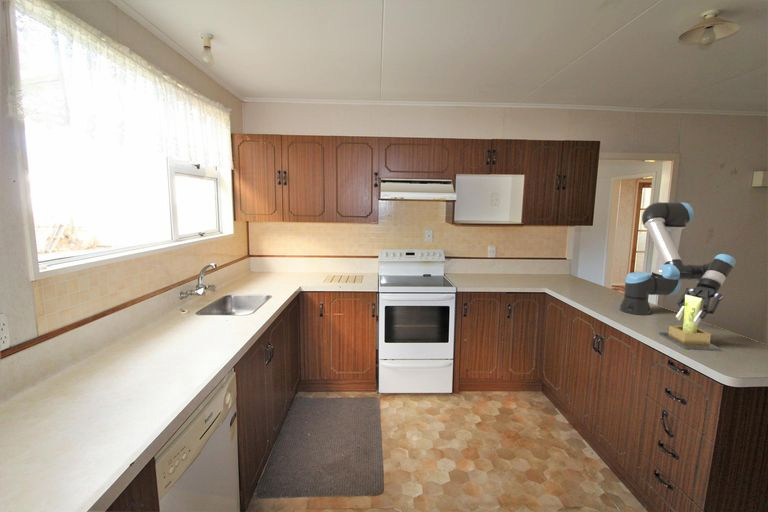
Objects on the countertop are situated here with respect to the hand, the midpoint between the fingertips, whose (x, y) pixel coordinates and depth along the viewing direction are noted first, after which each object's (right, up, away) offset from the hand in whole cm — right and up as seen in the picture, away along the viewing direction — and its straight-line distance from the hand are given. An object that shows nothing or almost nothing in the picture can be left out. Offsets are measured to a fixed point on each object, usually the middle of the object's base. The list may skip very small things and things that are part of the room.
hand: (686, 320), depth 158 cm
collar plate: (+3, -11, +3) cm, 11 cm away
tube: (+3, -8, +3) cm, 9 cm away
